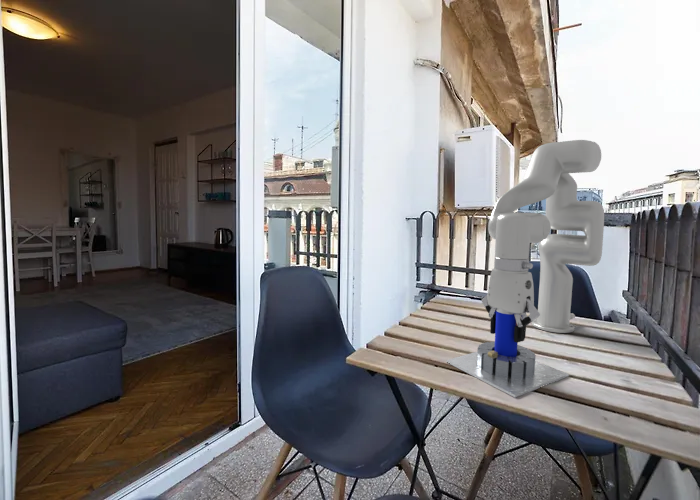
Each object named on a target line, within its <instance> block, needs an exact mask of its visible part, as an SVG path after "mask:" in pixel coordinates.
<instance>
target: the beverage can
mask: <svg viewBox="0 0 700 500" xmlns="http://www.w3.org/2000/svg"><path fill="white" fill-rule="evenodd" d="M515 326H517V322H516V319H515V315H514V314H513V313H509V312H507V311H505V310H504V309H501V308H499V309H497V310H496V327H495V334H494V342H495V350H494V351H496V352H498V354H499V355H502V356H507V357H516V356H517V345H519V344H518V343H519V342H518V343H516V342H514V328H515Z"/></svg>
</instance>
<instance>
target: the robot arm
mask: <svg viewBox="0 0 700 500" xmlns="http://www.w3.org/2000/svg"><path fill="white" fill-rule="evenodd" d="M601 160H602V149H601V147H600V145H599V144H598V143H597V142H595V141H591V140H587V139H575V140H567V141H566V140H565V141H555V142H548V143H544V144H542V145H540V146H538V147H537V148H535V150H534V151H533V153H532V156H531V159H530V161H529V164H528V167H527V168H526V171H525V173H524V176H523V178H522V179H523V180H522V181H521V182H518V183H517V184H516V185H514V186H512V187H510V189H508V191H506V192H504V193H503V194H502V195H501V196H500V197H499V198H498V199H497V201H496V203H495V204H494V207H493V209H492V211H491V214H490V217H489V220H488V225H487V231H488V234H489V236H490V237H491V238H492V239H493V240H495V241H494V242H495V245H494V263H493V264H494V265H493V267H494V268H492V270H491V272H490V276H489V281H488V287H487V294H486V295H485V296H484V297H483V298H482V299H481V303H482V304H483V306H484V308H485V310H486V311H487V313H488V317H489V319H490V326H489V327H490V329H489V331H490V332H489V333H490V334H492V335H493V334H494V335H495V327H496V310H497V309H499V308H501V309H504V310H505V311H507V312H509V313H513V314H514V315H515V319H516V322H517V326H515V328H514V342H516V343H521V342H524V341H525V339H526V336H527V335H526V333H527V332H526V331H527V330H526V329H527V326H529V325H530V324H531V325H532V326H533V327H534V328H536V329H538V330H541V331H545V332H550V333H556V334H557V333H558V334H569V333H573V332H574V331H575V328H576V327H575V326H574V325H573V324H572V323H570V321H571V320H573V319H576V315H575V314H574V313H573V312H572V313H571V306H572V296H573V292H572V291H573V283H574V278H573V274H572V272H571V271H570V269H569V268H568V266H567V265H574V266H575V265H576V266H586V267H587V266H588V267H591V266H592V267H593V266H597V265H598V264H599V263H600V261H601V259H602V254H603V245H604V243H603V242H604V231H605V229H604V228H605V209H604V206H603V205H602V204H601V202H599V201H595V200H578V198H577V197H578V196H577V195H578V184H577V182H576V180H575V179H574V178H573V176H572V175H571V174H581V173H592V172H594V171H596V170H597V169H598V167H599V166H600V163H601ZM544 200H545V215H544V214H543V213H540V212H539V213H538V212H515V211H516V210H518V209H521V208H523V207H526V206H529V205H533V204H536V203H539V202H541V201H544ZM551 230H555V231H556V230H557V231H567V232H568V231H569V232H571V231H575V232H583V234H584V235H582V234H581V235H580V234H568V233H567V234H565V233H551ZM550 233H551V234H550ZM537 243H538V253H539V261H540V263H539V264H540V266H539V267H540V269H539V270H540V271H539V288H538V304H537V308H536V306H535V302H534V301H535V292H534V291H535V290H534V280H533V275H532V272H530V271H529V270H531V269H533V267H534V264H533V263H531V262H530V245H531V244H537ZM527 313H529V314H528V315H527Z"/></svg>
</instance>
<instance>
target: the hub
mask: <svg viewBox="0 0 700 500" xmlns="http://www.w3.org/2000/svg"><path fill="white" fill-rule="evenodd" d="M494 350H495V341H490V342H489V341H486V342H483V343H480V344H479V345H478V346H477V351H473V352H471V353H468V354H464V355H461V356H456V357H453V358H449V359H447V360H446V361H445V363H447V362H448V363H447V364H449V363H450V364H449V365H451V366H453V367H455V368H457V369H459V370H461V371H462V372H464V373H466V374H469V375H470V376H472V377H475V378H476V379H478V380H480V381H482V382H484V383H485V384H487V385H489V386H491V387H493V388H496V389H498V391H499V390H500V391H501V392H503V393H505V394H507V395H509V396H511V397H513V398H514V399H515V398H517V397H521V396H522V395H526V394H528V393H531V392H533V391H535V390H537V389H541V388H542V387H541V386H543V385H546V384H548V385H550V384H549V383H551V384H553V383H555V381H556V382H558V381H560V380H562V379H565V378H568V377H569V376H570V375H569V373H568V372H564V371H562V370H560V369H557V368H555V367H552V366H550V365H547V364H546V363H542V362H540V361H537V360H536V356H537V355H536V353H535V352H533V351H532V350H531V349H530V348H529V349H528V348H527V347H525V346H523V345H519V344H517V356H516V357H507V356H502V355H499V354H498V352H496V351H494ZM552 382H553V383H552ZM546 386H547V385H546ZM540 387H541V388H540ZM543 387H544V386H543Z"/></svg>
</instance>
